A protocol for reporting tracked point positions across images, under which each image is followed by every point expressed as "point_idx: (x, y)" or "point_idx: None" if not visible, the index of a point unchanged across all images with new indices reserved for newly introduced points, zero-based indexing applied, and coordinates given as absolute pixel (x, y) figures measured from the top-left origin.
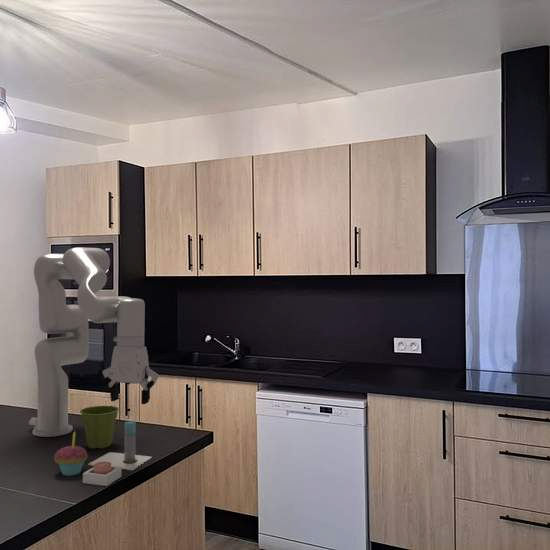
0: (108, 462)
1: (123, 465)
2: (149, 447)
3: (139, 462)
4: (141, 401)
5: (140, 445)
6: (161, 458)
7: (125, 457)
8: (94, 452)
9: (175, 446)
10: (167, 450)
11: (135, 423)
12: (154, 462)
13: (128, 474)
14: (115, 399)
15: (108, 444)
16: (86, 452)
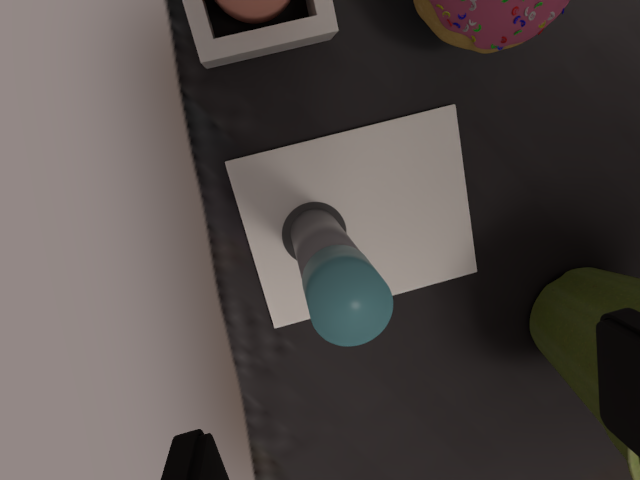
0: (246, 2)
1: (299, 176)
2: (377, 408)
3: (266, 245)
4: (202, 451)
5: (426, 404)
6: (233, 343)
7: (321, 213)
8: (538, 242)
9: (292, 472)
10: (285, 423)
11: (315, 327)
12: (221, 291)
13: (201, 110)
14: (605, 367)
15: (533, 322)
16: (438, 10)
